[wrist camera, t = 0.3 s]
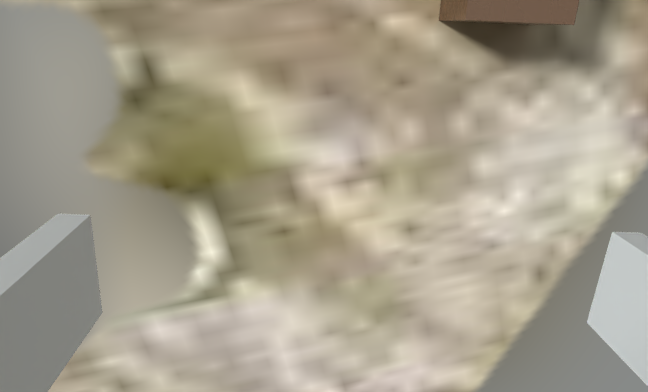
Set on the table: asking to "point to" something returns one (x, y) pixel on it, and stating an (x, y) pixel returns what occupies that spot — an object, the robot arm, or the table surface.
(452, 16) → the link
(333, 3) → the table surface
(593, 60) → the table surface
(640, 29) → the table surface
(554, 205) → the table surface
